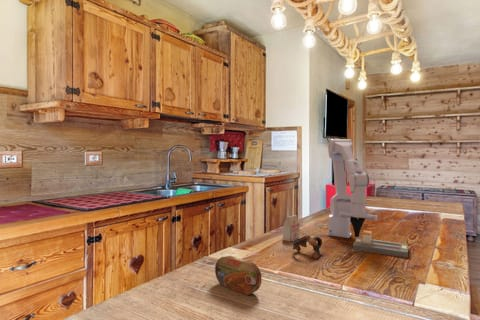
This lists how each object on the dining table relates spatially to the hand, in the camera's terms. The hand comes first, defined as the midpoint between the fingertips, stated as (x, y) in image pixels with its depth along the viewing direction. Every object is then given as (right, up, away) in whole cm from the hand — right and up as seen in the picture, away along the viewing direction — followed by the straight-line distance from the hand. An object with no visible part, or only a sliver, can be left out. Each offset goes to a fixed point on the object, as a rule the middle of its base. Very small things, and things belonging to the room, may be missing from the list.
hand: (357, 236), depth 132 cm
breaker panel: (+8, -4, -4) cm, 10 cm away
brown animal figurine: (-22, -4, -11) cm, 25 cm away
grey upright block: (-25, -3, +8) cm, 27 cm away
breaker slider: (+3, -2, -2) cm, 4 cm away
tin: (-48, -5, -42) cm, 64 cm away
